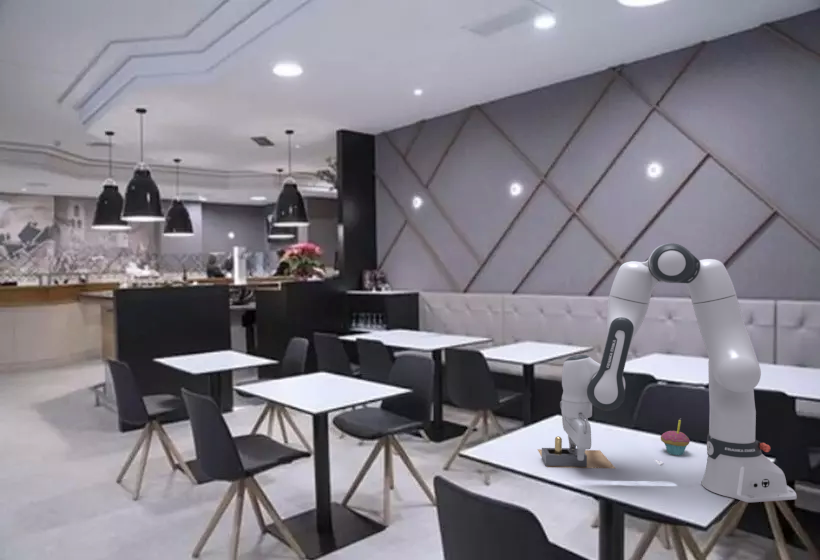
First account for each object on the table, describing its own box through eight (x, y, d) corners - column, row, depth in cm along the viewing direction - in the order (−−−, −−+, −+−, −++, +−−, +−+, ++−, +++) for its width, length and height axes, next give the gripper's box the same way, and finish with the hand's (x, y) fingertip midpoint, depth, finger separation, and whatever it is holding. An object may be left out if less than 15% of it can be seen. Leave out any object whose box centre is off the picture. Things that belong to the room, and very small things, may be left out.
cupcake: (695, 455, 184) (696, 418, 184) (675, 458, 181) (676, 421, 180) (674, 447, 192) (674, 412, 192) (654, 450, 189) (655, 414, 188)
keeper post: (560, 461, 174) (561, 435, 174) (562, 463, 172) (562, 437, 172) (554, 461, 174) (554, 435, 174) (555, 463, 172) (555, 437, 172)
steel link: (580, 459, 176) (581, 448, 176) (586, 467, 169) (586, 455, 169) (541, 458, 176) (541, 447, 176) (545, 466, 170) (546, 455, 170)
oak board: (599, 454, 184) (599, 450, 184) (615, 473, 168) (615, 468, 168) (537, 453, 185) (537, 449, 185) (547, 472, 169) (547, 467, 169)
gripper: (597, 418, 162) (596, 467, 162) (578, 401, 182) (578, 444, 183) (574, 418, 162) (574, 466, 162) (558, 400, 182) (558, 443, 183)
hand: (576, 454), depth 173 cm, fingers open, 8 cm apart
